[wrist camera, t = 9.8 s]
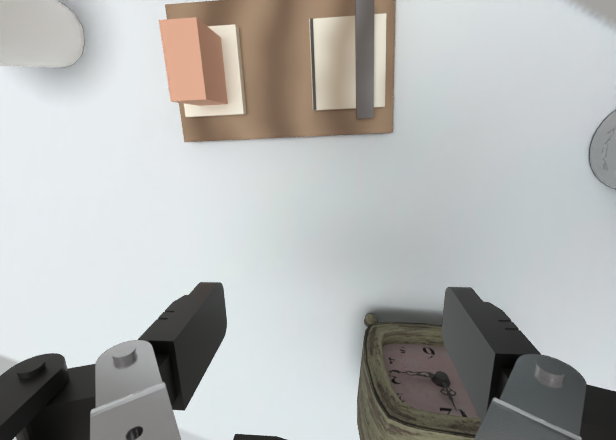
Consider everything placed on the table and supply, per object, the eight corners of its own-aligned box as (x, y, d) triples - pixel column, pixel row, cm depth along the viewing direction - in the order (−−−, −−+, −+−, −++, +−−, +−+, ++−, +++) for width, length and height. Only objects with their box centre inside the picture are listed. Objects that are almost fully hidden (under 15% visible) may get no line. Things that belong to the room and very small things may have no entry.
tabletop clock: (475, 312, 40) (686, 582, 16) (462, 374, 43) (628, 688, 19) (356, 302, 41) (391, 549, 17) (349, 364, 44) (372, 654, 20)
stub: (238, 28, 32) (213, 1, 25) (246, 114, 34) (225, 111, 28) (178, 32, 33) (138, 6, 26) (190, 117, 35) (155, 114, 28)
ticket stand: (392, -8, 32) (400, -25, 28) (390, 132, 35) (396, 132, 32) (172, 9, 34) (152, -5, 30) (190, 141, 37) (174, 143, 34)
